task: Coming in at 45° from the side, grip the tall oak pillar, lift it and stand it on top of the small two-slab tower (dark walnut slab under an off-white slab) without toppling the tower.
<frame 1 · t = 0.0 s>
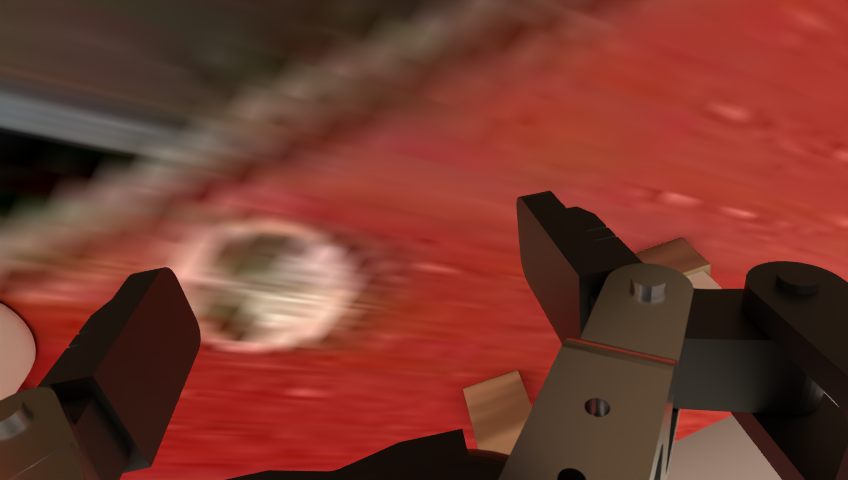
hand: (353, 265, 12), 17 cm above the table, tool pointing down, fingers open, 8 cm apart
slab base: (635, 289, 37), on the table, touching slab top
pillar: (497, 397, 41), on the table
slab top: (660, 319, 34), point 3 cm above the table, touching slab base
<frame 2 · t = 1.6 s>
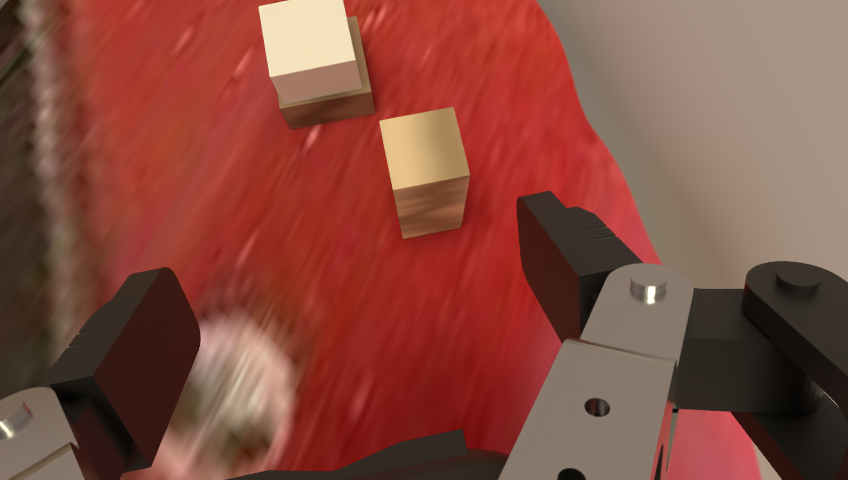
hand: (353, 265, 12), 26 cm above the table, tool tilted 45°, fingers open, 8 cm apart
slab base: (327, 86, 43), on the table, touching slab top
pillar: (426, 206, 39), on the table
slab top: (316, 62, 40), point 3 cm above the table, touching slab base
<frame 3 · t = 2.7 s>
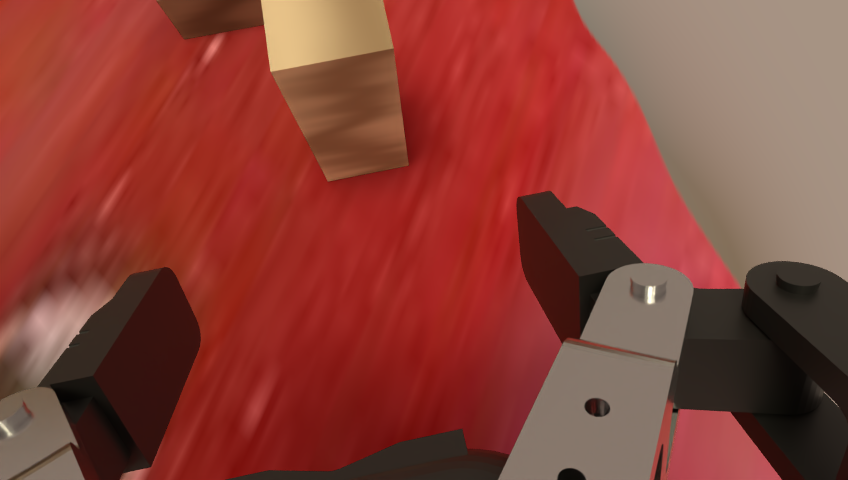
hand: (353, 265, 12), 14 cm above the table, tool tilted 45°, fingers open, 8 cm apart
pillar: (361, 137, 29), on the table
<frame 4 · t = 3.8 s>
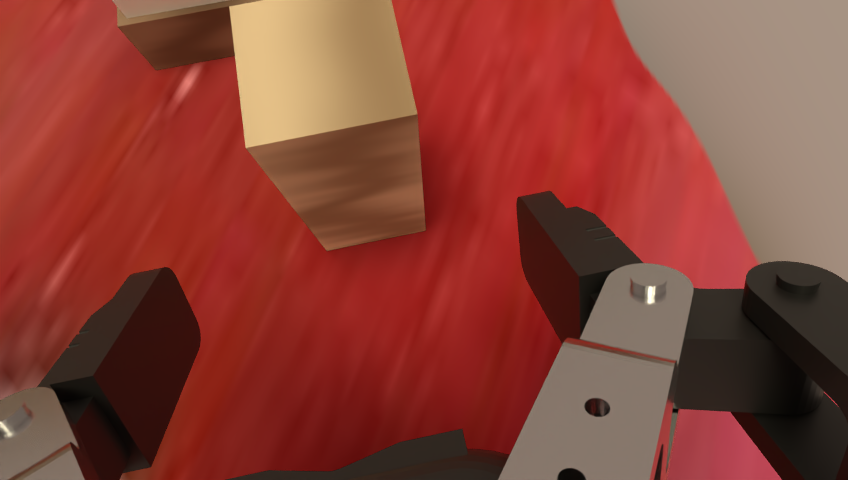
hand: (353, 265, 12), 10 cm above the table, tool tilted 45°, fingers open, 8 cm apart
slab base: (221, 5, 27), on the table, touching slab top
pillar: (367, 194, 23), on the table
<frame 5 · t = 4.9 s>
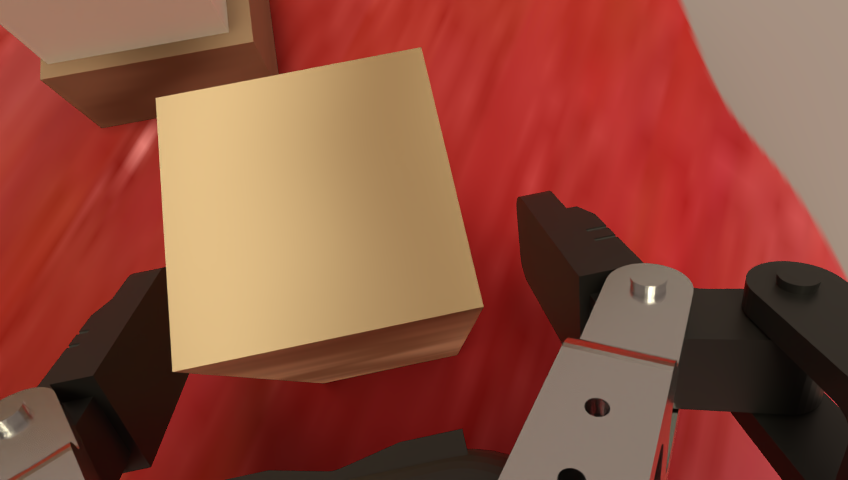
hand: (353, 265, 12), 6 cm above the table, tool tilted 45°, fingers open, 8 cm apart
slab base: (190, 42, 21), on the table, touching slab top
pillar: (378, 302, 18), on the table
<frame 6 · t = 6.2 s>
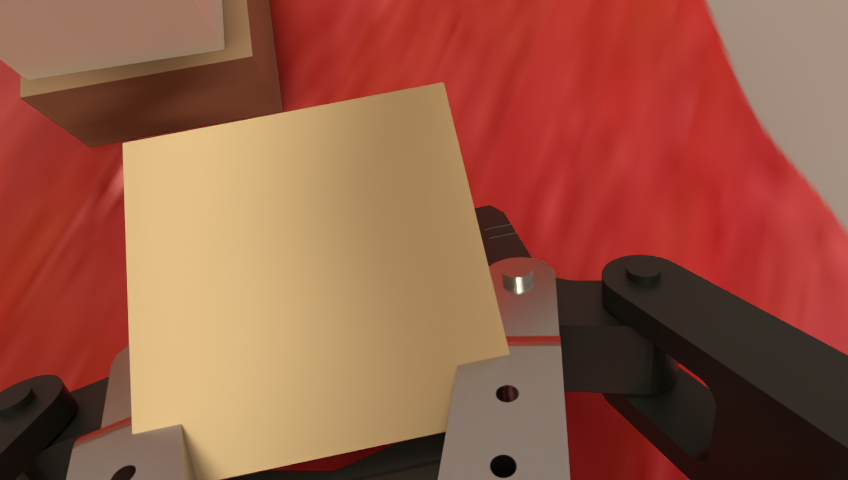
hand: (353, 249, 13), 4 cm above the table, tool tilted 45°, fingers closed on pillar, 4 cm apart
slab base: (185, 53, 20), on the table, touching slab top
pillar: (384, 341, 16), on the table, touching gripper
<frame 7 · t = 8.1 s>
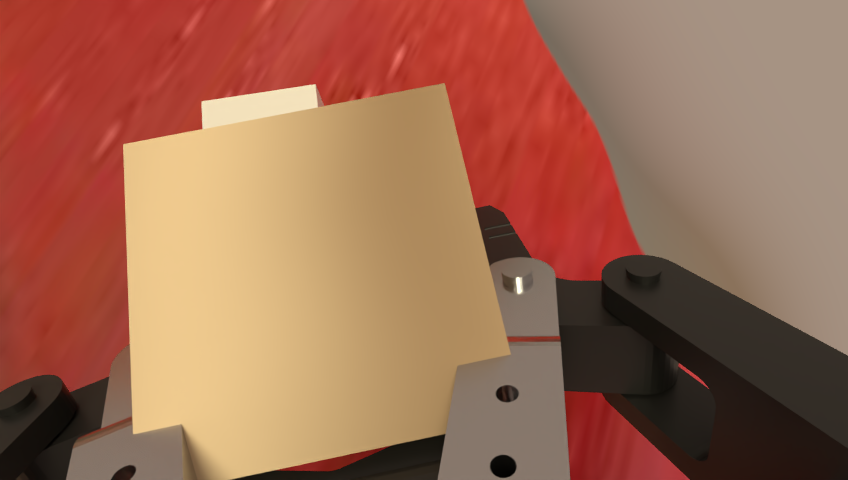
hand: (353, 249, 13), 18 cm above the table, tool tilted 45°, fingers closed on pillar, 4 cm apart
pillar: (385, 342, 16), point 14 cm above the table, touching gripper
slab top: (282, 172, 29), point 3 cm above the table, touching slab base
when the fingers open (13 cm above the table, at t = 10.5 s): pillar drops 2 cm, resting on slab top.
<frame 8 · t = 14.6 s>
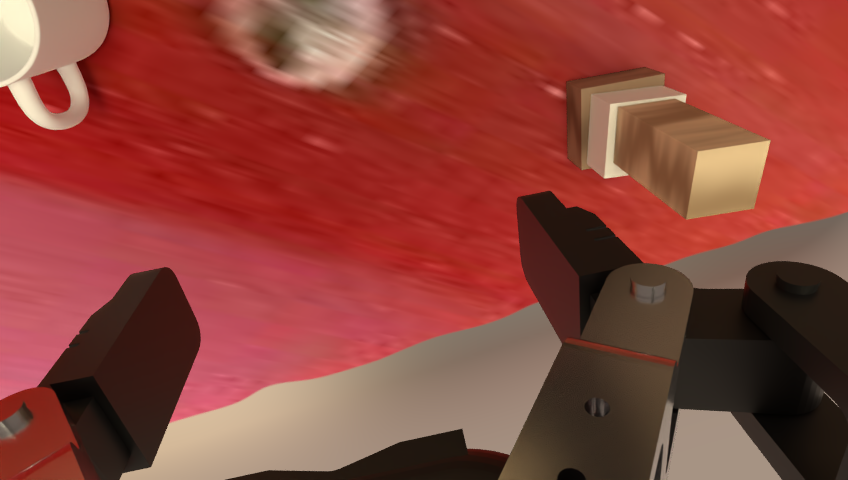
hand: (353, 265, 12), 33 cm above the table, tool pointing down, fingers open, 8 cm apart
slab base: (603, 113, 46), on the table, touching slab top
pillar: (643, 131, 40), point 7 cm above the table, touching slab top
cup: (65, 28, 38), on the table
slab top: (623, 125, 43), point 3 cm above the table, touching pillar, slab base
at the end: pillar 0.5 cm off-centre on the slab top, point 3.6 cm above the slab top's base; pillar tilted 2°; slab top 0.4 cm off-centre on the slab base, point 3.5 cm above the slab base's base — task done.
